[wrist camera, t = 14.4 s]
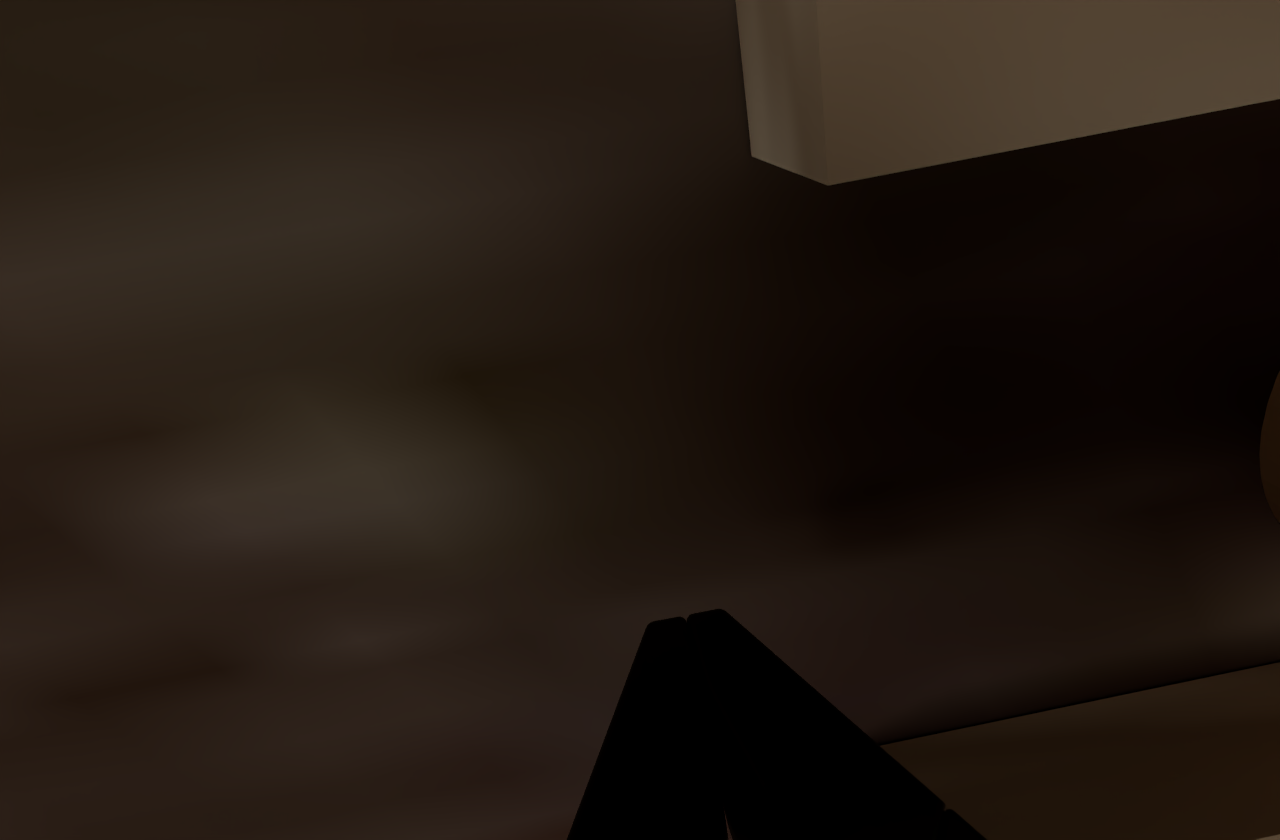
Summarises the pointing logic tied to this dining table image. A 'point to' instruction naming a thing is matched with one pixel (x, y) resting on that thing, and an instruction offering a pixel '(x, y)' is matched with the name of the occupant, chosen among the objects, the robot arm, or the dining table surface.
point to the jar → (1271, 451)
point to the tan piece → (993, 123)
